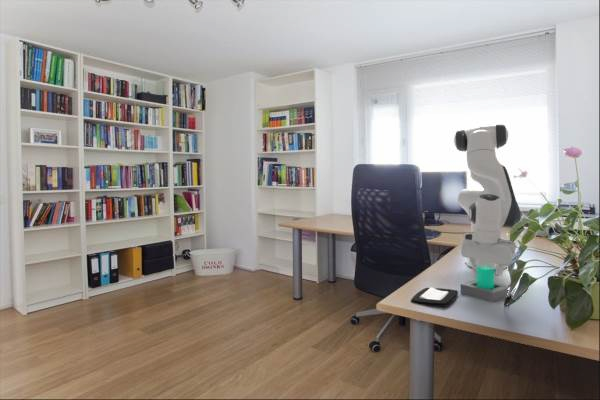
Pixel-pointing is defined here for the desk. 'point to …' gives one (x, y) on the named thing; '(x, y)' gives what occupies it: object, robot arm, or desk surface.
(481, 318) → the desk surface
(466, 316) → the desk surface
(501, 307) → the desk surface
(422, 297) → the light switch
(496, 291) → the socket block
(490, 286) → the candle
